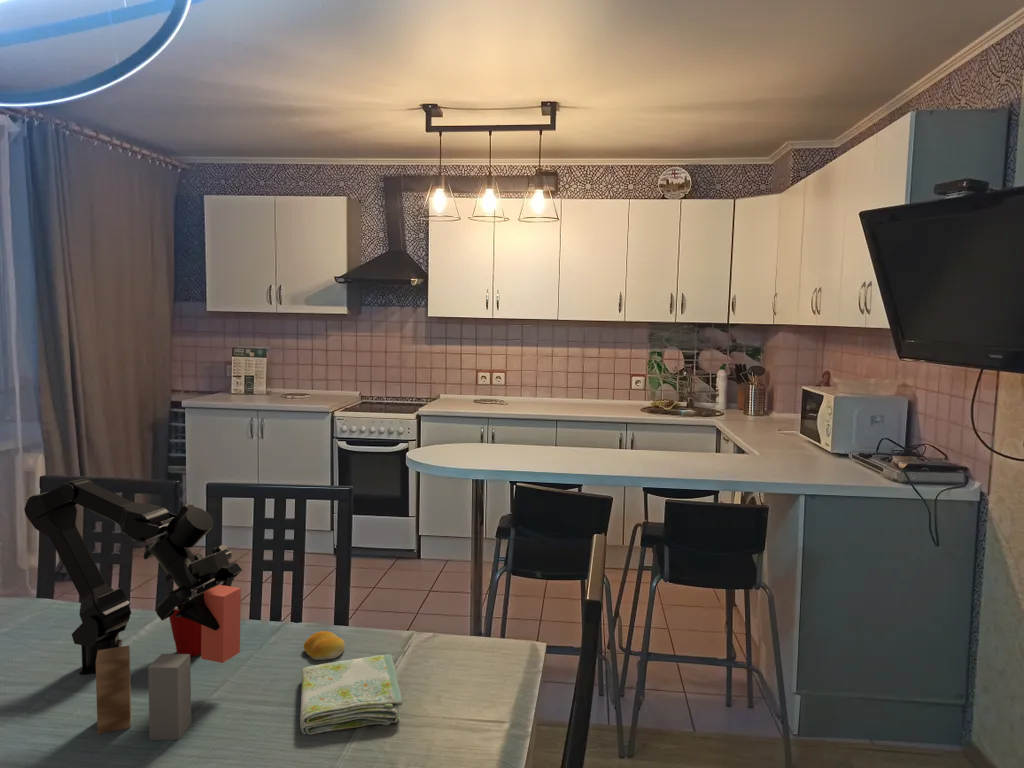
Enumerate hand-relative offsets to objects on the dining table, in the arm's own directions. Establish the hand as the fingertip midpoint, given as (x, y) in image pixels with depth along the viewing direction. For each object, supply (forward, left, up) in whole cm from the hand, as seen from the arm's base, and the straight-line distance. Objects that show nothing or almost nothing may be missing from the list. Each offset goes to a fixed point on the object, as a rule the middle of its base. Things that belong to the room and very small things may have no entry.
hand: (227, 623), depth 140 cm
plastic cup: (-9, +19, -14) cm, 25 cm away
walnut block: (-18, -8, -13) cm, 24 cm away
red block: (-1, +1, -7) cm, 7 cm away
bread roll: (+19, +13, -14) cm, 26 cm away
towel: (+23, -10, -14) cm, 29 cm away
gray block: (-8, -13, -13) cm, 20 cm away
